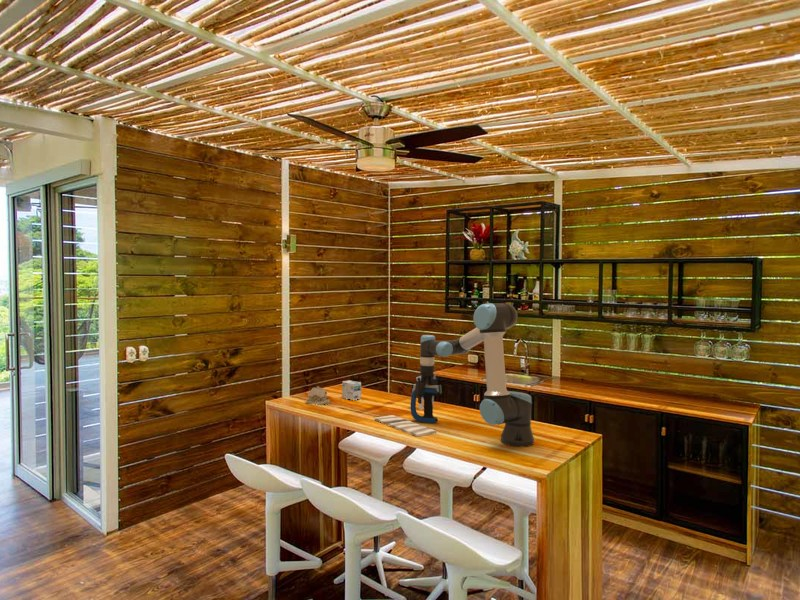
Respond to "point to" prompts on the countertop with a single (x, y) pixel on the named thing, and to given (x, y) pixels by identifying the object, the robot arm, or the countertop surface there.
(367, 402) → the countertop surface
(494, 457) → the countertop surface
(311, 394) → the ceramic model
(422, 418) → the handheld scanner
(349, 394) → the light bulb box
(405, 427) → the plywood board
